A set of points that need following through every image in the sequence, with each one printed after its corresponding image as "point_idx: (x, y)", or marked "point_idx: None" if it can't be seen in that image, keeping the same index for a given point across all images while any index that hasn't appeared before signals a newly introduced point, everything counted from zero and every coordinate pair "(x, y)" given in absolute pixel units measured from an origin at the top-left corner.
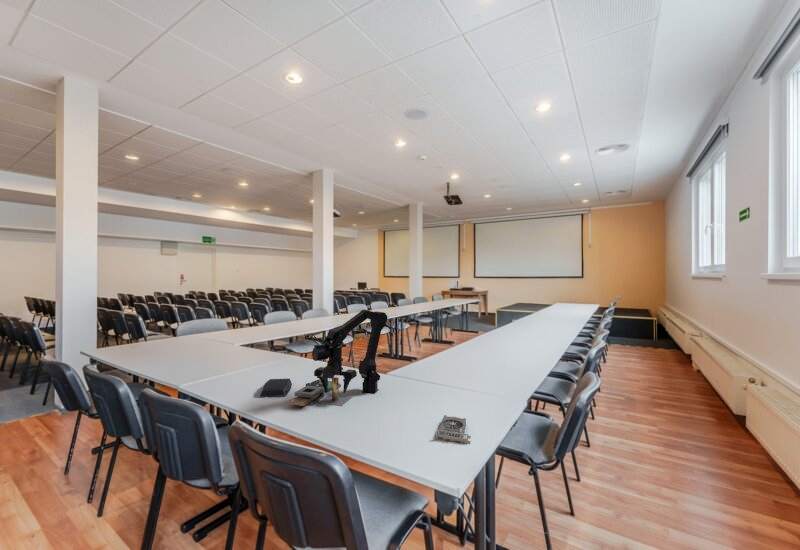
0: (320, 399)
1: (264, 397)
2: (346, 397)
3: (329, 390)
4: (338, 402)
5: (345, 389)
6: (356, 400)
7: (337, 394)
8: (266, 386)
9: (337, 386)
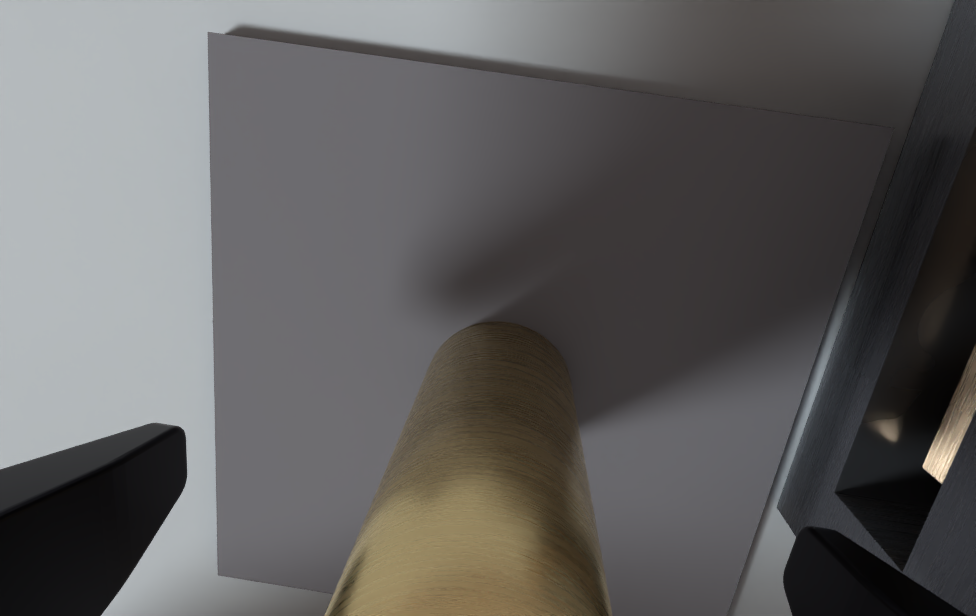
0: (843, 368)
1: None
2: (320, 539)
3: None
4: (371, 256)
5: (12, 483)
6: None
7: (405, 424)
8: None
9: (327, 612)
